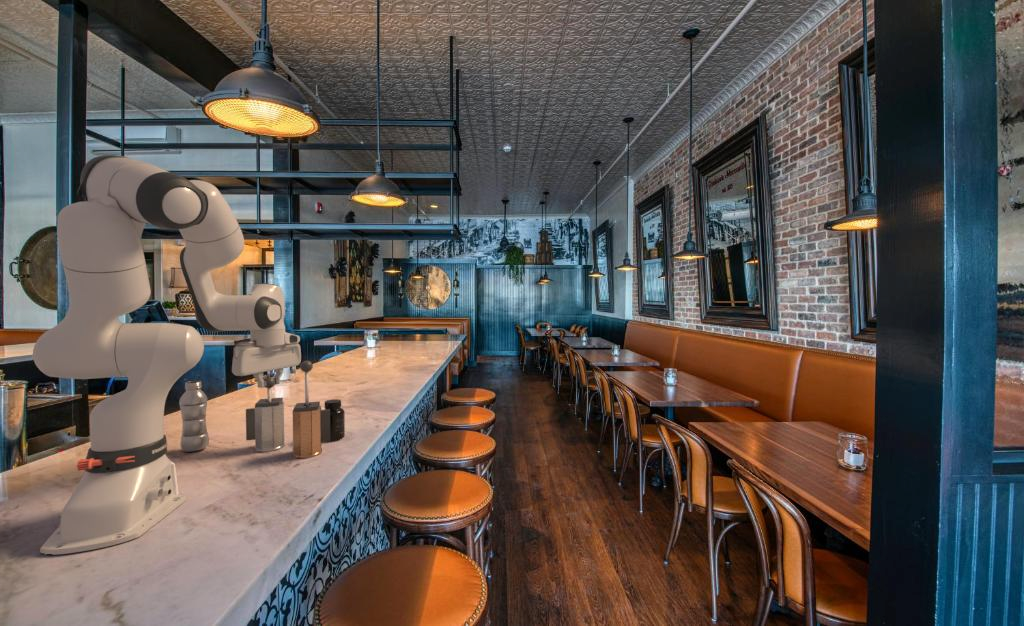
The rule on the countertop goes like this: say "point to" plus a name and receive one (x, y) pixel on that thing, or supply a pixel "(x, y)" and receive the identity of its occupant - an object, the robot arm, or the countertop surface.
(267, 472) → the countertop surface
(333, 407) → the supplement bottle
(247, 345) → the robot arm
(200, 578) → the countertop surface
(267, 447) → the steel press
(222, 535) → the countertop surface
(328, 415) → the copper press
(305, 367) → the ball knob lever
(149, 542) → the countertop surface
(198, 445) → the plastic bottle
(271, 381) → the steel plunger
